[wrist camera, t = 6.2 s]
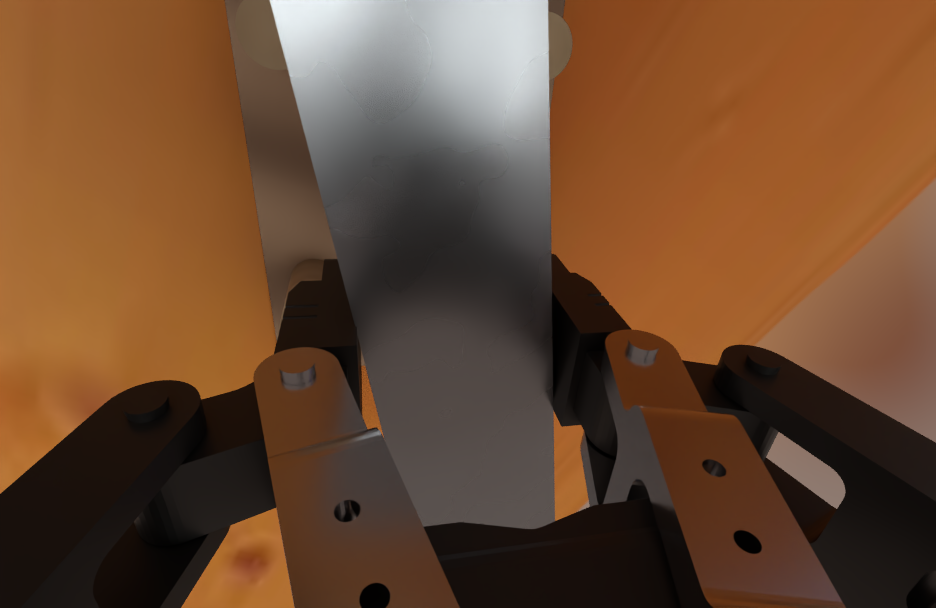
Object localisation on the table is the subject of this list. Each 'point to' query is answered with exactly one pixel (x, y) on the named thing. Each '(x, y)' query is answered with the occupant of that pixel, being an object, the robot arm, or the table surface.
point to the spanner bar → (441, 234)
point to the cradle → (300, 147)
